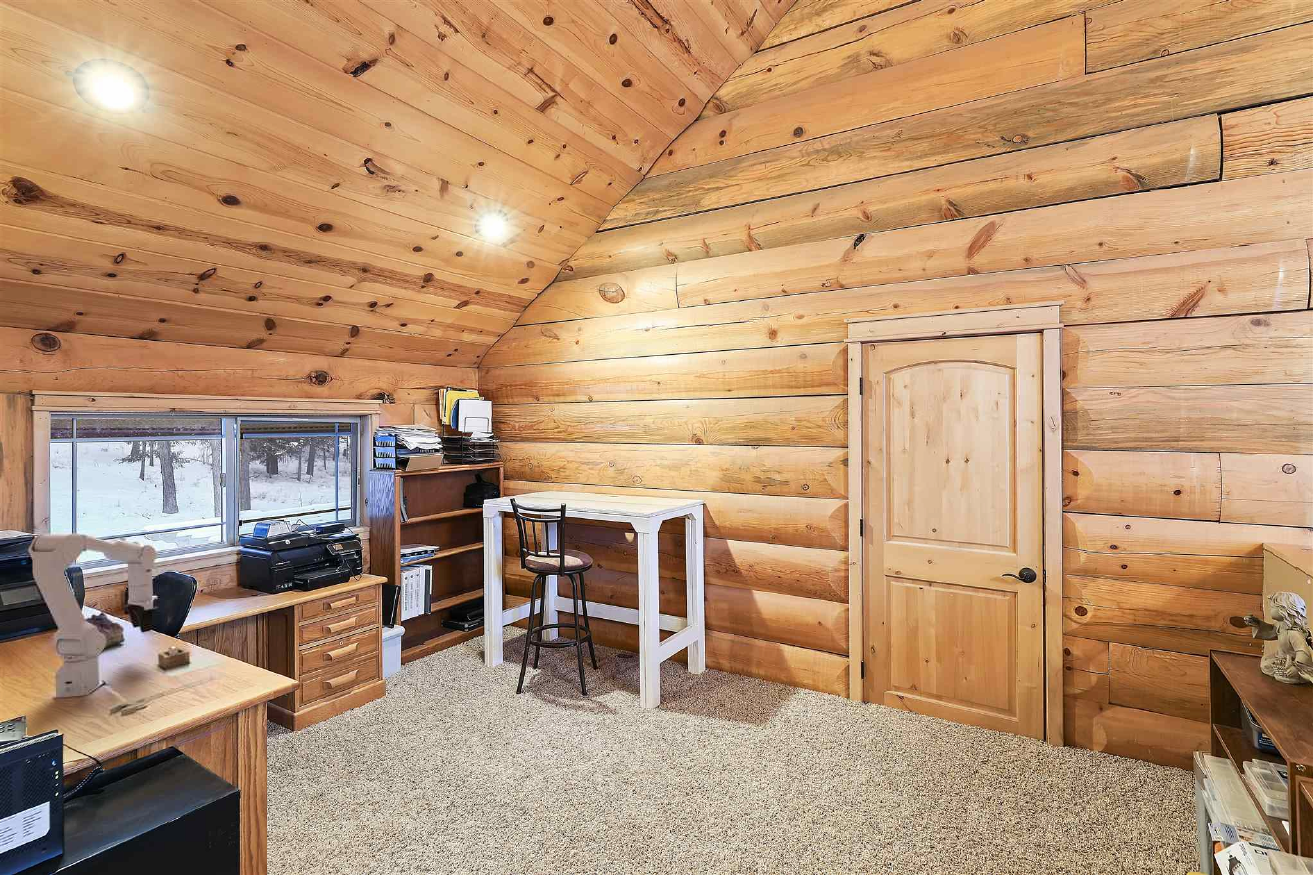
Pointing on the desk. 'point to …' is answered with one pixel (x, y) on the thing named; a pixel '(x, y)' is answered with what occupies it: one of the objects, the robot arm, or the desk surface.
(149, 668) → the desk surface
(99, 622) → the geode
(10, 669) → the desk surface
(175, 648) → the post
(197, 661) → the board
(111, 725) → the desk surface
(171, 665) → the collar
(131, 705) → the adjustable wrench
